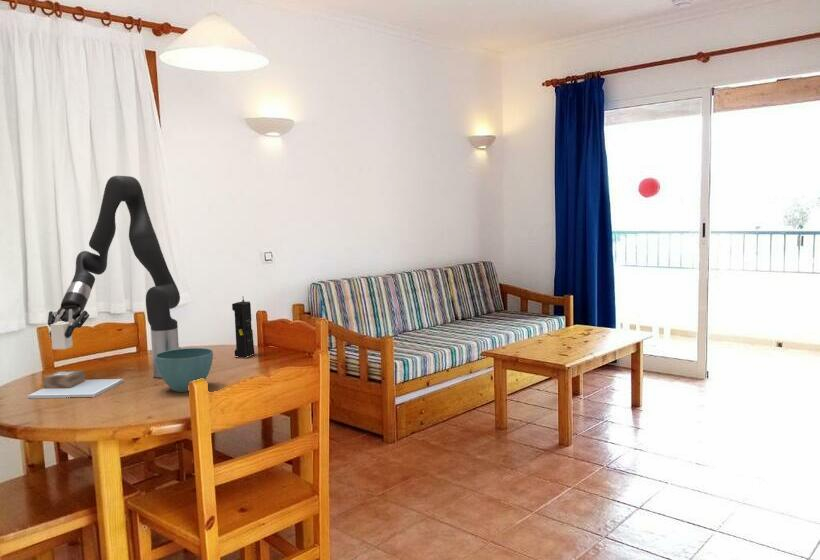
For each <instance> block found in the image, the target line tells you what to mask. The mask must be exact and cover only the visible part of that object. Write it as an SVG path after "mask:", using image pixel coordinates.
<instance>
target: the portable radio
mask: <svg viewBox="0 0 820 560" xmlns="http://www.w3.org/2000/svg"><path fill="white" fill-rule="evenodd" d="M231 307H232V308H231V310H232V311H233V312H234V326H235V347H236V348H235V350H234V357H235V356H238V357H247V356H250V355H252V354H254V353H255V345H254V334H253V333H254V331H253V329H252V308H251V301H245V299H244V297H242V301H237V302H234V303H232V304H231ZM254 355H255V354H254ZM250 357H251V356H250Z"/></svg>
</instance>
